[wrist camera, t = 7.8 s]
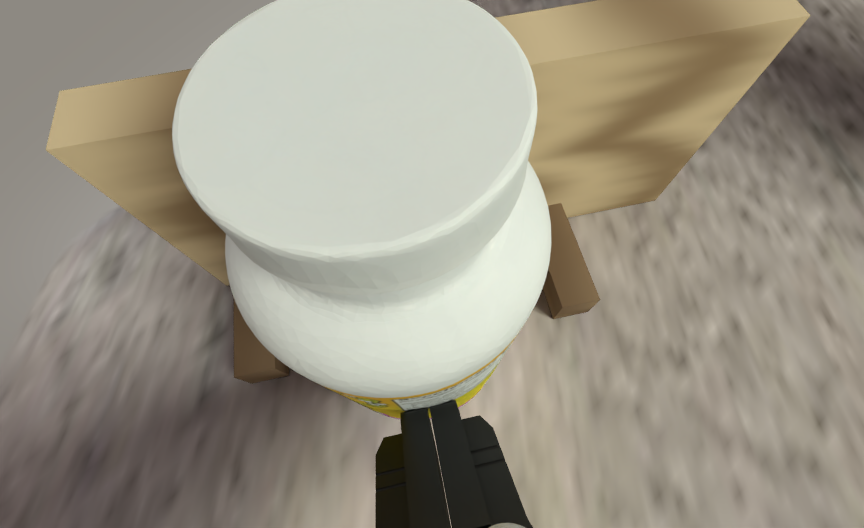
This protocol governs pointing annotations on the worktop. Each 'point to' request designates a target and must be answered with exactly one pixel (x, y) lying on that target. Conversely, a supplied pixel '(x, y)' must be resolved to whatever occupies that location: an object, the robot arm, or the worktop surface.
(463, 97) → the supplement bottle
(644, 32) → the wall board
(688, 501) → the worktop surface
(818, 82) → the worktop surface
